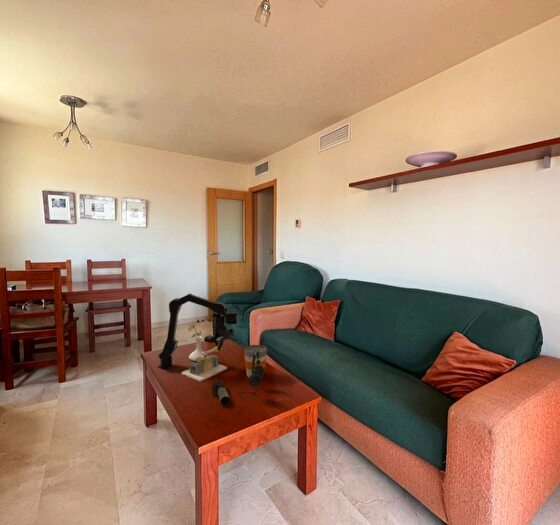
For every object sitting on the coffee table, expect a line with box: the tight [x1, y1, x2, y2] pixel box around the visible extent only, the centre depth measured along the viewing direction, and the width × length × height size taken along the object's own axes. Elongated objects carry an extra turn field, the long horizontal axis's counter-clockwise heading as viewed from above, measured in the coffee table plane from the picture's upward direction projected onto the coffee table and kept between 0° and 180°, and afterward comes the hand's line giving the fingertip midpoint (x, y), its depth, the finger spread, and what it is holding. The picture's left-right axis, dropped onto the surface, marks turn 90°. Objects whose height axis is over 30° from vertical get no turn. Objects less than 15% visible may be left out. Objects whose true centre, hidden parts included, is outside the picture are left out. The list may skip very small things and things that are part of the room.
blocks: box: [189, 354, 219, 376], centre depth 165 cm, size 6×16×7 cm, turn 147°
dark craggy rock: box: [211, 379, 232, 406], centre depth 139 cm, size 18×7×6 cm, turn 22°
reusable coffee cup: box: [243, 344, 268, 378], centre depth 162 cm, size 13×13×15 cm
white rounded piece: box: [187, 319, 209, 362], centre depth 181 cm, size 13×11×25 cm
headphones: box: [238, 351, 265, 399], centre depth 143 cm, size 15×11×20 cm
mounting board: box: [181, 363, 228, 383], centre depth 165 cm, size 15×20×1 cm
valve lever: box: [202, 346, 223, 358], centre depth 169 cm, size 14×3×3 cm, turn 147°
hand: (219, 350), depth 171 cm, fingers closed, pressing on valve lever
